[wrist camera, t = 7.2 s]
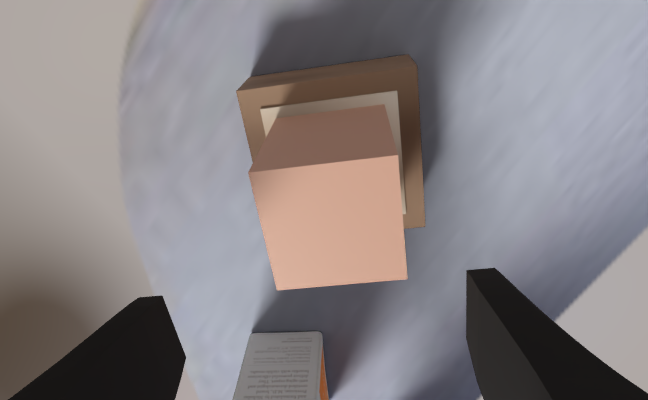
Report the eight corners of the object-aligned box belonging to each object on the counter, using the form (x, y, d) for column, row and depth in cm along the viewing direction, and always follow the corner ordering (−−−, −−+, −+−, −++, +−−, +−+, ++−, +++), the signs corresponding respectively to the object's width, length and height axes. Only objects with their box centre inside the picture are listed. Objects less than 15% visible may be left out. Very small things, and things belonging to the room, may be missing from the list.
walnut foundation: (417, 199, 20) (425, 227, 18) (279, 213, 21) (271, 243, 19) (408, 54, 18) (417, 66, 15) (249, 76, 18) (235, 91, 16)
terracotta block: (392, 202, 18) (407, 279, 13) (294, 212, 18) (277, 290, 14) (384, 104, 16) (398, 155, 11) (275, 118, 16) (248, 172, 12)
